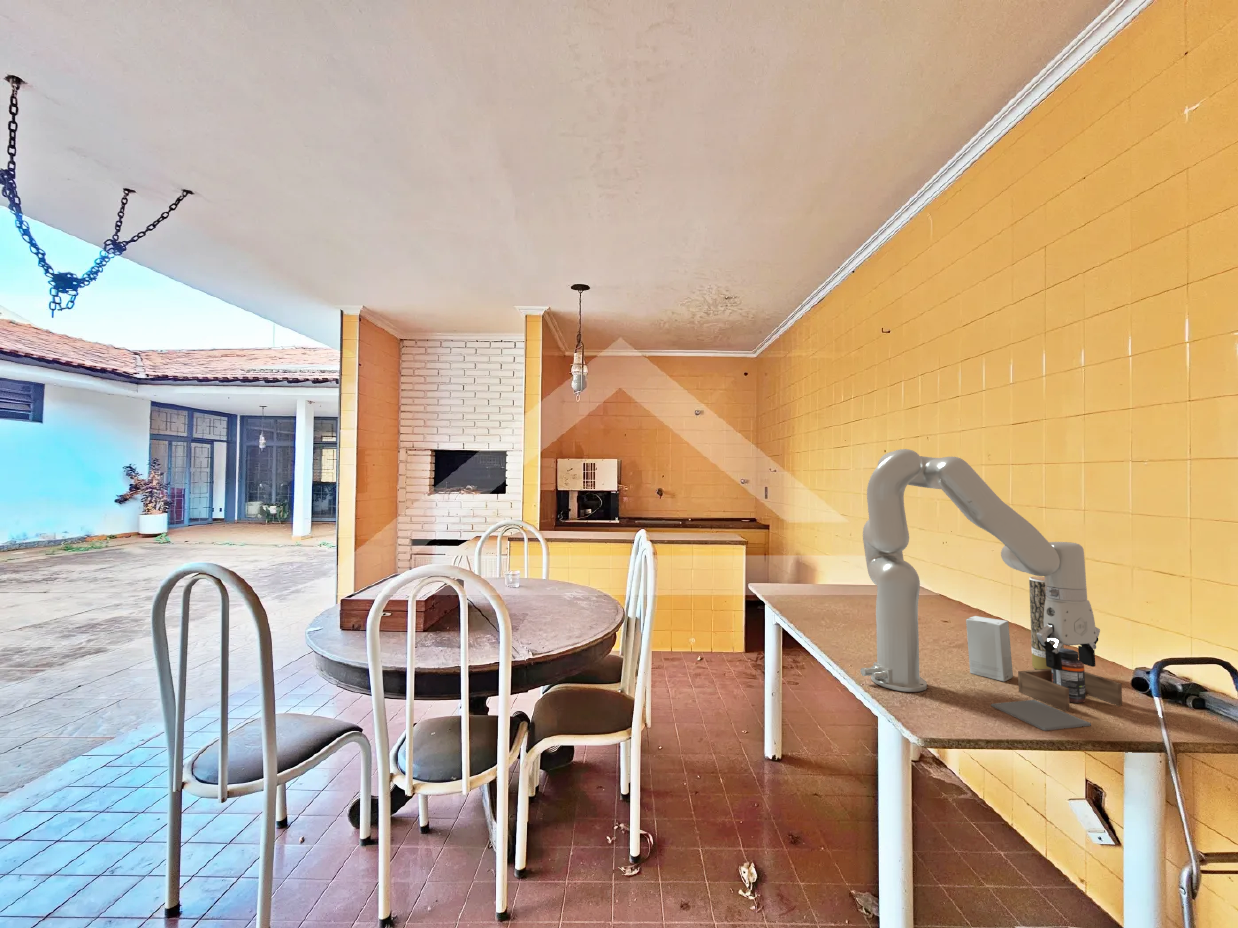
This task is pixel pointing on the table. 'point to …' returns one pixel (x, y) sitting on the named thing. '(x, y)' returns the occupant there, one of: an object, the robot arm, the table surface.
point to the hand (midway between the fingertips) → (1070, 666)
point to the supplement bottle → (1071, 675)
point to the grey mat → (1040, 715)
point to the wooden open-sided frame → (1058, 696)
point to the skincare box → (989, 648)
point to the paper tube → (1037, 620)
